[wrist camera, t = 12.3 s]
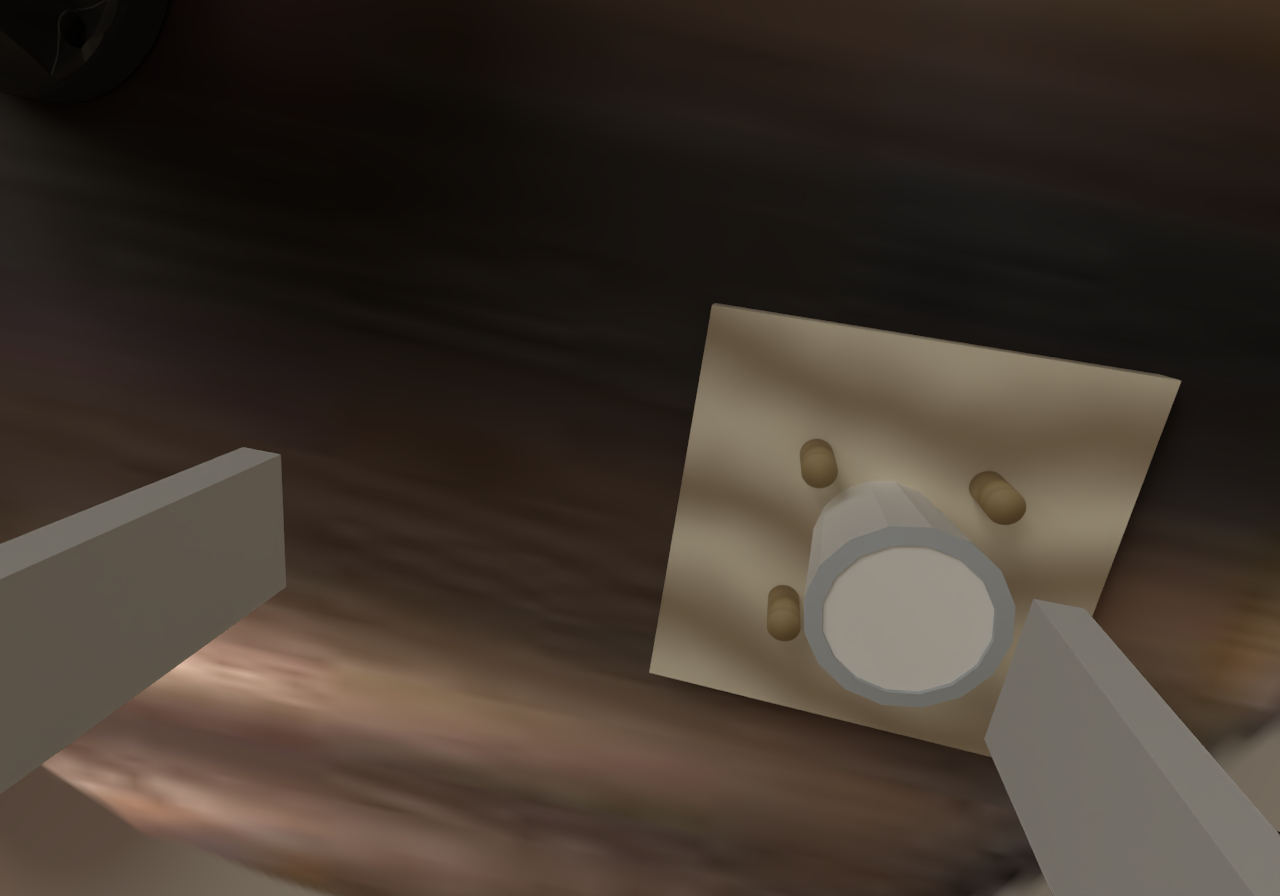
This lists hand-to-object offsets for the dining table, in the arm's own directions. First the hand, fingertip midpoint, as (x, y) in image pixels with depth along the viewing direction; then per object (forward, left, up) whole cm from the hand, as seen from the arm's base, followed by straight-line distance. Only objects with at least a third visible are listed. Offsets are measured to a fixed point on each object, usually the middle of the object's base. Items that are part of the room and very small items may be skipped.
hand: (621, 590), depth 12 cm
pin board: (+5, +8, -20) cm, 22 cm away
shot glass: (+5, +8, -19) cm, 21 cm away
